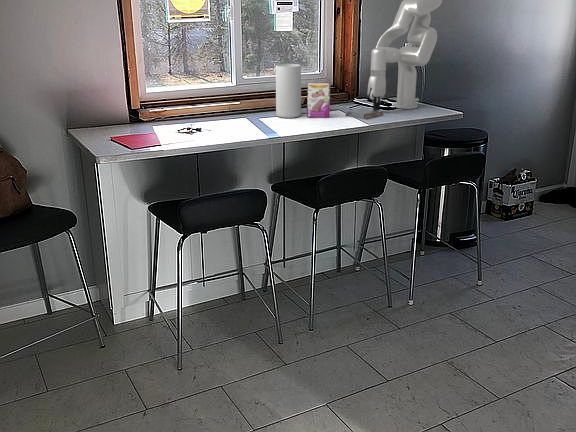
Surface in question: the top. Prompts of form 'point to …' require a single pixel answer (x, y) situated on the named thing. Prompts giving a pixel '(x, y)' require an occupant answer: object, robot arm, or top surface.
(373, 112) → the steel cover plate
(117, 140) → the top surface
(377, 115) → the pair of brown sticks
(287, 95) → the cylinder vase
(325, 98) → the candy bar box
